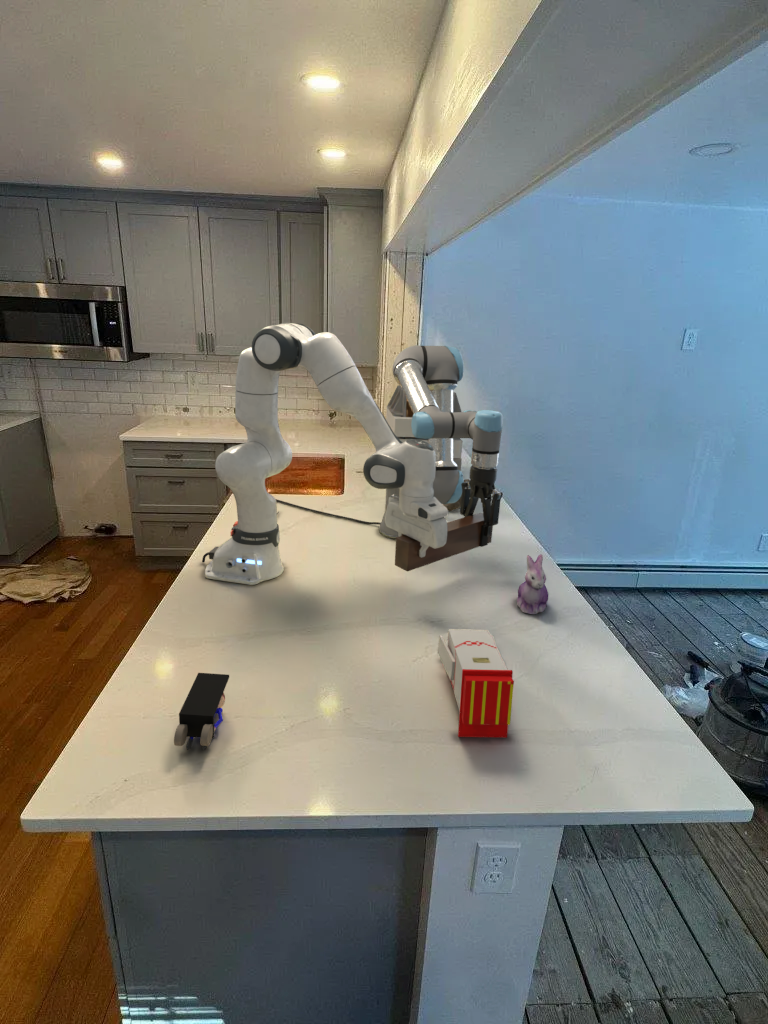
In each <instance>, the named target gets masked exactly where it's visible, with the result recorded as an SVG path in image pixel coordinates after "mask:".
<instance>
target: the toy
mask: <svg viewBox="0 0 768 1024" xmlns="http://www.w3.org/2000/svg"><path fill="white" fill-rule="evenodd" d="M446 640H447V643H446V641H445V639H444V636H443V635H442V634H439V637H438V646H437V656H438V657H439V659H440V661H441V663H442V666H443V668H444V670H445V672H446V674H447V677H448V679H449V681H450V684H451V687H452V690H453V693H454V697H455V701H456V705H457V708H458V711H459V714H458V715H459V716H458V730H457V731H458V732H457V737H458V738H508V731H509V726H510V725H511V717H512V707H513V697H514V696H513V695H514V684H515V680H514V679H513V673H514V671H513V670H512V669H508V667H507V665H506V662H505V661H504V659H503V658H502V655H501V653H500V651H499V649H498V647H497V643H496V639H495V637H494V635H493V634H491V632H490V631H489V629H467V628H466V629H465V628H463V629H461V628H460V629H459V628H448V630H447V639H446Z"/></svg>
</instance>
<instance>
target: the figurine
mask: <svg viewBox="0 0 768 1024" xmlns="http://www.w3.org/2000/svg"><path fill="white" fill-rule="evenodd" d="M543 560H544V555H543V554H541V553H540V554H539V555H538V556H537V558H536V560H535V561H534V559H533V557H532V556H530V555H529V554H528V555H526V569H527V571H526V572H525V575H524V579H525V580H524V581H523V582H521V584H519V586H518V589H517V597H516V604H517V607H518V608H519V609H520V610H521V612H522V613H525V614H529V615H537V614H538V613H543V612H544V611H545V609H546V608H547V603H548V601H549V591H548V588H547V585H546V584H545V583H546V581H547V575H546V573H545V570H544V569H543Z"/></svg>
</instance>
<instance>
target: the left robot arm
mask: <svg viewBox="0 0 768 1024" xmlns="http://www.w3.org/2000/svg"><path fill="white" fill-rule="evenodd" d="M298 367H300V368H304V369H305V370H306V371H307V372H308V374H309V375H310V376H311V379H312V381H313V382H314V384H315V386H316V387H317V389H318V392H319V394H320V395H321V397H322V398H323V400H324V401H325V402H326V404H327V405H328V406H329V407H330V408H331V409H332V410H333V411H336V412H339V413H342V414H346V415H348V416H350V417H352V418H354V419H355V420H357V421H358V422H359V424H360V425H361V427H362V428H363V430H364V431H365V433H366V435H367V436H368V438H369V440H370V441H371V443H372V444H373V446H374V449H375V452H374V453H372V454H371V455H370V456H368V458H366V459H365V461H364V464H363V469H362V470H363V477H364V478H365V481H366V482H367V483H368V484H369V485H370V486H371V487H373V488H375V489H378V490H386V489H394V488H399V489H400V492H399V496H397V495H394V494H393V495H392V496H390V497H389V500H388V505H387V509H386V515H385V524H386V526H387V527H389V528H391V529H393V530H395V531H397V532H398V536H403V535H406V536H408V537H410V538H413V539H415V540H417V541H419V542H420V545H421V546H422V547H421V549H419V550H417V556H419V557H421V558H422V557H425V555H426V550H427V548H428V547H429V546H430V547H432V548H434V549H436V548H440V547H443V546H444V545H445V544H446V541H447V522H448V521H447V519H446V518H445V517H447V516H448V514H449V511H448V509H447V508H446V507H445V506H444V505H443V504H441V503H440V502H439V501H438V500H437V499H436V498H435V497H434V489H433V482H434V479H435V472H436V456H435V450H434V448H433V447H432V445H430V444H429V443H427V442H425V441H422V440H418V439H408V440H406V441H405V442H402V441H400V440H399V439H398V438H397V436H396V435H395V434H394V432H393V431H392V429H391V427H390V426H389V424H388V422H387V421H386V416H385V415H384V413H383V412H382V410H381V409H380V407H379V406H378V404H377V402H376V401H375V400H374V397H373V396H372V394H371V392H370V391H369V389H368V387H367V384H366V383H365V381H364V378H363V377H362V375H361V373H360V371H359V369H358V367H357V365H356V363H355V361H354V359H353V358H352V356H351V355H350V352H349V351H348V350H347V348H346V347H345V346H344V344H343V342H341V340H340V339H339V338H338V337H337V335H335V334H334V333H332V332H329V331H324V332H318V333H316V332H315V331H314V330H313V329H312V328H311V327H310V326H308V325H306V324H303V323H300V322H299V323H298V322H297V323H292V322H282V323H279V324H276V325H275V324H274V325H268V326H265V327H263V328H261V329H260V330H258V331H257V333H256V334H255V335H254V336H253V338H252V341H251V346H250V347H248V348H245V349H243V350H242V351H241V353H240V354H239V356H238V361H237V366H236V373H235V384H234V385H235V387H234V388H235V390H234V391H235V393H234V394H235V398H234V399H235V400H234V402H235V403H234V416H235V420H236V421H237V422H238V423H239V424H240V426H242V427H243V428H244V429H245V432H246V437H247V438H246V439H247V440H246V442H243V443H240V444H237V445H232V446H230V447H229V448H227V449H226V450H224V451H222V452H221V453H219V454H218V456H217V457H216V459H215V463H214V466H215V469H214V470H215V473H216V475H217V478H218V479H219V480H220V482H221V483H222V484H223V485H225V486H227V487H228V488H229V489H230V491H231V492H232V495H233V497H234V499H235V504H236V514H237V515H236V516H237V520H236V521H235V522H234V523H233V524H232V527H231V530H230V538H229V539H227V540H226V541H225V542H223V543H221V544H220V545H218V546H214V547H213V548H212V549H211V550H209V551H208V552H205V553H204V554H203V555H202V560H201V562H202V563H205V562H206V557H208V559H209V560H211V561H209V563H208V564H207V565H206V567H205V570H204V577H205V578H206V579H209V580H216V581H221V582H222V581H223V582H230V583H237V584H243V585H250V586H254V585H257V584H260V583H262V582H265V581H269V580H272V579H276V578H277V577H280V576H281V575H282V574H283V573H284V571H285V567H284V565H283V562H282V558H281V553H280V546H279V545H280V539H281V538H280V536H281V535H280V525H279V523H278V514H277V513H278V503H277V501H276V497H275V496H274V495H272V494H271V493H269V492H268V491H267V487H266V479H268V478H270V477H273V476H276V475H279V474H280V473H281V472H283V471H284V470H286V468H288V467H289V466H290V464H291V463H292V460H293V450H292V447H291V445H290V444H289V443H288V442H287V441H286V439H285V438H284V437H283V436H282V431H281V429H280V425H279V381H280V380H279V378H280V375H281V373H282V372H283V371H289V370H293V369H296V368H298Z"/></svg>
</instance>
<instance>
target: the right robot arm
mask: <svg viewBox="0 0 768 1024" xmlns="http://www.w3.org/2000/svg"><path fill="white" fill-rule="evenodd" d="M464 365H465V364H464V359H463V355H462V353H461V351H460V350H459V349H458V348H457V347H455V346H448V345H420V344H419V345H418V344H416V345H410V346H408V347H405V348H403V350H401V351H400V352H399V353H398V354H397V356H396V357H395V359H394V361H393V364H392V374H393V375H392V376H393V378H394V380H395V382H396V383H397V384H398V385H400V386H401V387H402V388H403V391H404V393H405V395H406V397H407V400H408V402H409V404H410V406H411V409H412V411H413V413H414V415H413V417H412V422H411V427H412V433H413V435H414V437H416V438H424V439H428V443H429V444H430V445H432V447H433V448H434V450H435V456H436V472H435V479H434V482H433V489H434V497H435V498H436V499H437V500H438V501H439V502H440V503H441V504H442V505H443V504H448V503H455V502H457V501H458V500H459V498H460V497H461V494H462V498H461V507H460V508H459V514H460V515H461V516H463V518H464V517H468V516H471V515H474V514H475V511H476V508H477V505H478V502H479V500H480V503H481V507H482V513H483V517H484V524H483V525H482V528H481V537H480V546H479V547H480V548H481V547H482V548H483V547H485V546H488V544H489V543H488V536H490V534H491V526H493V527H494V526H496V525H498V524H499V518H500V508H501V499H502V497H503V495H504V494H503V492H502V491H498V490H497V489H496V486H495V482H496V480H497V475H498V468H497V467H498V466H499V459H500V447H501V440H502V433H503V432H502V431H503V426H504V425H503V420H504V419H503V417H504V415H503V414H502V413H501V412H500V411H498V410H497V411H496V410H491V409H480V410H478V411H476V410H471V409H466V410H464V411H461V412H453V391H454V390H456V388H457V387H458V383H459V382H460V381H462V379H463V377H464V371H465V367H464ZM453 438H460V439H471V440H472V448H471V458H470V459H471V460H470V464H471V466H470V468H469V480H470V481H469V482H464V474H463V472H462V470H461V471H459V470H458V466H457V464H456V463H455V462H454V461H453ZM471 490H472V491H471ZM399 492H400V489H399V488H394V489H385V504H384V505H385V507H384V508H385V509H384V513H383V515H382V519H381V522H376V521H365V520H361V519H356V518H352V517H349V516H348V517H347V516H342V515H338V514H334V513H329V512H324V511H321V510H316V509H312V508H308V507H305V506H301V505H297V504H293V503H290V502H287V501H283V500H280V499H276V498H275V499H276V502H278V503H281V504H284V505H287V506H291V507H294V508H298V509H302V510H305V511H309V512H313V513H316V514H317V513H318V514H321V515H325V516H330V517H335V518H338V519H339V518H340V519H343V520H348V521H353V522H357V523H360V524H361V523H362V524H366V525H379V527H378V533H379V534H380V535H381V536H382V537H385V538H387V539H389V540H395V541H396V537H399V536H398V532H397V531H395V530H393V529H391V528H389V527H387V526H386V524H385V515H386V509H387V505H388V500H389V497H390V496H392V495H393V494H394V495H397V496H399ZM470 493H471V494H470Z"/></svg>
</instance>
